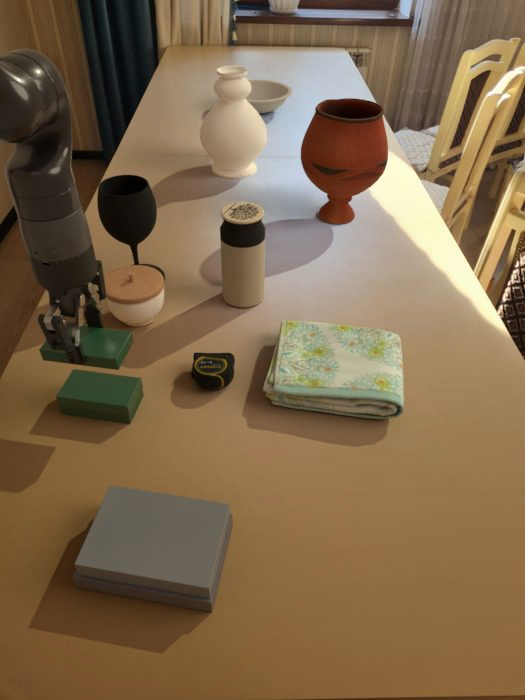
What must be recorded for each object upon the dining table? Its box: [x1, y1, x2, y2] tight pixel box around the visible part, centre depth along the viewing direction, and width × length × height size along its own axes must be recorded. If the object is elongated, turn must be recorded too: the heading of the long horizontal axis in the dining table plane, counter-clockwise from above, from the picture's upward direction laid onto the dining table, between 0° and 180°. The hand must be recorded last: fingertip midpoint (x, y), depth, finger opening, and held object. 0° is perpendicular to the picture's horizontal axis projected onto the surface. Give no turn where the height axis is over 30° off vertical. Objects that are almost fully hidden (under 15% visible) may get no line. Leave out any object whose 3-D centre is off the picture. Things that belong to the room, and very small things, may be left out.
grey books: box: [72, 484, 234, 613], centre depth 64 cm, size 16×11×5 cm
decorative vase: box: [199, 65, 268, 179], centre depth 141 cm, size 18×18×25 cm
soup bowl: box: [245, 79, 293, 114], centre depth 183 cm, size 24×24×7 cm
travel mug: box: [219, 201, 266, 308], centre depth 99 cm, size 8×8×18 cm
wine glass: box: [96, 174, 166, 281], centre depth 102 cm, size 10×10×20 cm
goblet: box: [300, 97, 389, 225], centre depth 121 cm, size 19×19×25 cm
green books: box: [55, 368, 145, 425], centre depth 82 cm, size 11×6×4 cm, turn 80°
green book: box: [38, 325, 135, 371], centre depth 75 cm, size 11×6×2 cm, turn 80°
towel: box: [262, 319, 405, 420], centre depth 87 cm, size 18×21×5 cm
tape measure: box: [190, 352, 236, 391], centre depth 86 cm, size 7×7×4 cm
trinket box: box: [104, 264, 165, 327], centre depth 97 cm, size 11×11×9 cm
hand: (87, 346), depth 76 cm, fingers closed on green book, 6 cm apart
